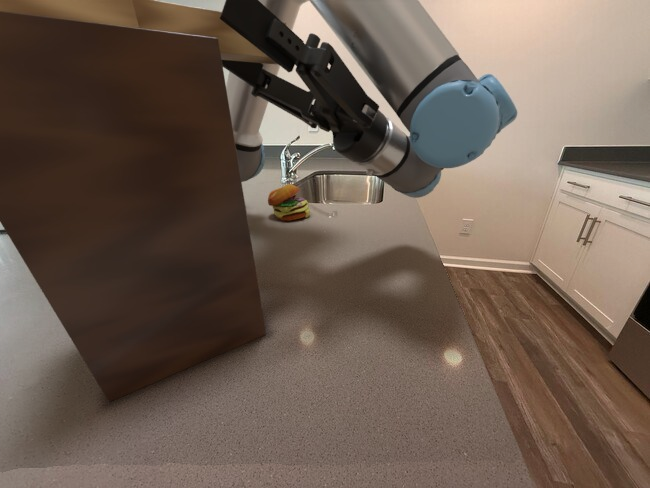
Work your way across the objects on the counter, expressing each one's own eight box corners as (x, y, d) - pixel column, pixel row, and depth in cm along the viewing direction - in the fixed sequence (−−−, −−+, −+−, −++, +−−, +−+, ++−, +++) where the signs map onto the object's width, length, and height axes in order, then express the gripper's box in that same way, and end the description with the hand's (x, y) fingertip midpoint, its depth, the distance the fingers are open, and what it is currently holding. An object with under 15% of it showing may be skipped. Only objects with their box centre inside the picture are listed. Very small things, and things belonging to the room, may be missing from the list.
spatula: (-66, 5, 13) (-110, -79, 12) (17, 52, 22) (-3, 6, 20) (307, 50, 24) (305, 8, 22) (265, 70, 32) (262, 40, 31)
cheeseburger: (306, 223, 67) (294, 186, 63) (270, 230, 70) (257, 195, 67) (315, 210, 76) (305, 177, 72) (282, 217, 79) (271, 185, 75)
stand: (108, 402, 25) (-140, -8, 12) (119, 327, 34) (-15, 50, 21) (266, 334, 32) (218, 37, 20) (240, 288, 42) (195, 66, 29)
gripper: (419, 174, 29) (226, 24, 16) (318, 157, 47) (187, 80, 33) (450, 109, 28) (273, -111, 15) (335, 117, 46) (207, 21, 32)
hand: (213, 22), depth 24 cm, fingers open, 10 cm apart
